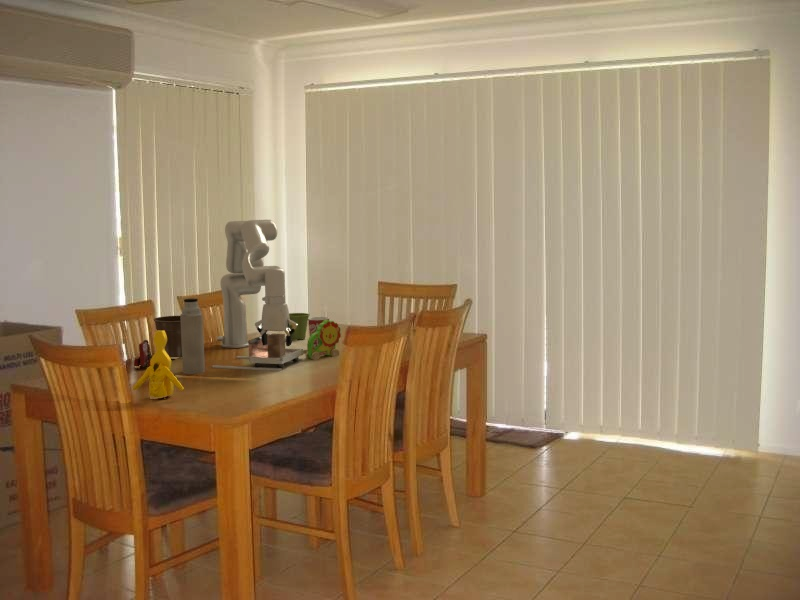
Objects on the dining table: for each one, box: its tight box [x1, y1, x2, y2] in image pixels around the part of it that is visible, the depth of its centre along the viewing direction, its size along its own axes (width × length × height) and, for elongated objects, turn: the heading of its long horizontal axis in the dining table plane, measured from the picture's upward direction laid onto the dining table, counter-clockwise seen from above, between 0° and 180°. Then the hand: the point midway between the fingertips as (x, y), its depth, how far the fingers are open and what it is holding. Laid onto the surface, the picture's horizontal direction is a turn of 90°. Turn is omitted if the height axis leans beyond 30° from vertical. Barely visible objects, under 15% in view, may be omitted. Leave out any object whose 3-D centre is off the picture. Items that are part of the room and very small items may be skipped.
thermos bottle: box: [179, 298, 206, 375], centre depth 343 cm, size 8×8×28 cm
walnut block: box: [267, 333, 286, 357], centre depth 354 cm, size 5×5×8 cm
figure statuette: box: [131, 330, 185, 397], centre depth 304 cm, size 18×8×22 cm, turn 82°
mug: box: [308, 316, 330, 349], centre depth 393 cm, size 13×9×14 cm
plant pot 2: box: [289, 312, 311, 341], centre depth 421 cm, size 12×12×11 cm
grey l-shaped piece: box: [247, 333, 304, 369], centre depth 355 cm, size 14×20×11 cm
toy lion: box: [305, 320, 342, 361], centre depth 371 cm, size 16×6×15 cm, turn 135°
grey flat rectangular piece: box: [211, 355, 304, 372], centre depth 357 cm, size 28×21×2 cm
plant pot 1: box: [153, 315, 182, 357], centre depth 379 cm, size 16×16×16 cm
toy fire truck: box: [133, 339, 153, 367], centre depth 359 cm, size 7×12×10 cm, turn 1°
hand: (276, 345), depth 354 cm, fingers open, 9 cm apart
